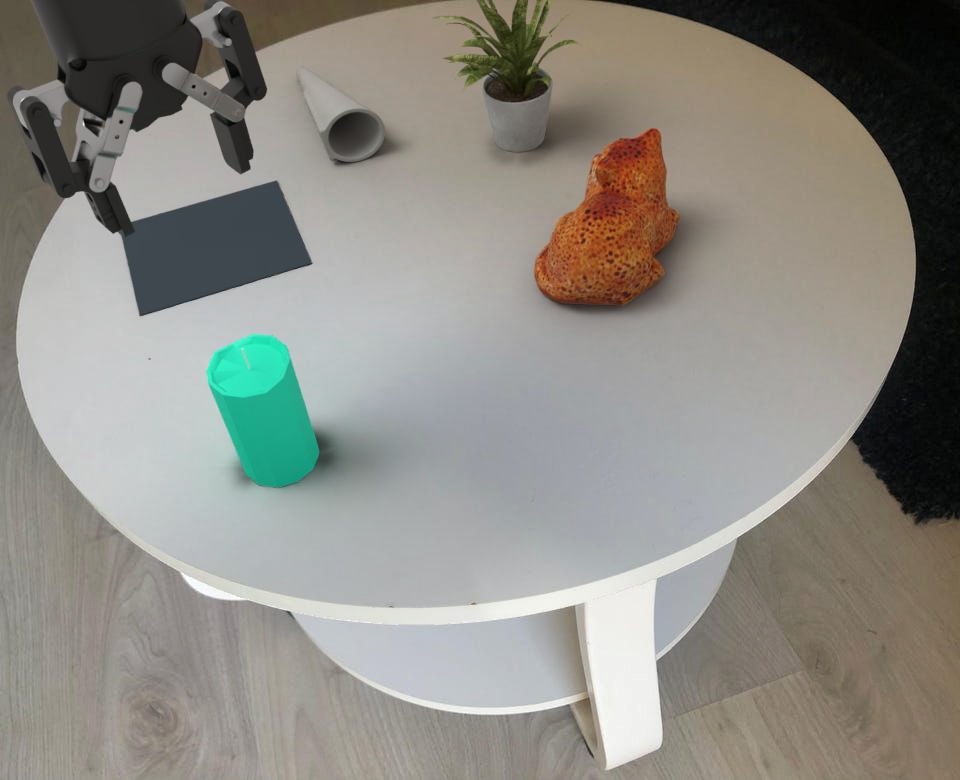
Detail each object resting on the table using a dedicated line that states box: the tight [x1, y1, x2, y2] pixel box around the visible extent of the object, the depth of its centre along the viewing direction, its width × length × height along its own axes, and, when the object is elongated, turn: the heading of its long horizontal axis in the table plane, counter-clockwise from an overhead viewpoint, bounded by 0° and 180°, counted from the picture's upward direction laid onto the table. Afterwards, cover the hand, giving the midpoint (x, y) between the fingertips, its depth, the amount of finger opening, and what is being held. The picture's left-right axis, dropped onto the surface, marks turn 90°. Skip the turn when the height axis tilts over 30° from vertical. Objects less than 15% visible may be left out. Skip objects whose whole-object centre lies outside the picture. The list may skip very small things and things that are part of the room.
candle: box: [205, 333, 321, 489], centre depth 72 cm, size 6×6×12 cm
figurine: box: [533, 127, 681, 306], centre depth 85 cm, size 15×11×10 cm
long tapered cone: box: [295, 65, 386, 163], centre depth 107 cm, size 6×6×19 cm
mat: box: [121, 180, 313, 317], centre depth 95 cm, size 16×14×1 cm
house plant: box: [433, 0, 582, 153], centre depth 97 cm, size 14×14×16 cm
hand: (182, 198), depth 63 cm, fingers open, 8 cm apart
